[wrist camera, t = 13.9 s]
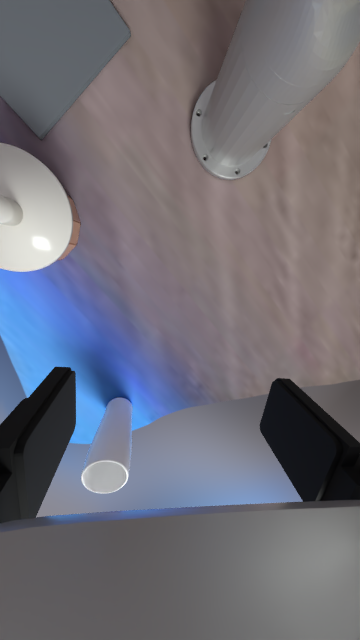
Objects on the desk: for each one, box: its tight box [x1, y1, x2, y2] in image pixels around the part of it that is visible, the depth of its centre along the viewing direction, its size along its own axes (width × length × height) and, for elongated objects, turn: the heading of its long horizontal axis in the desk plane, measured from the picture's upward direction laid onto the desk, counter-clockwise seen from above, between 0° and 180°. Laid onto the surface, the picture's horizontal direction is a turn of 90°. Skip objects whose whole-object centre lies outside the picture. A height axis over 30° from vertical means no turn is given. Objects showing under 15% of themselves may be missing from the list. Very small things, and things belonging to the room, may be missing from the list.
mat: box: [0, 0, 131, 140], centre depth 26 cm, size 18×18×1 cm
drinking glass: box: [81, 398, 132, 494], centre depth 38 cm, size 7×7×15 cm
